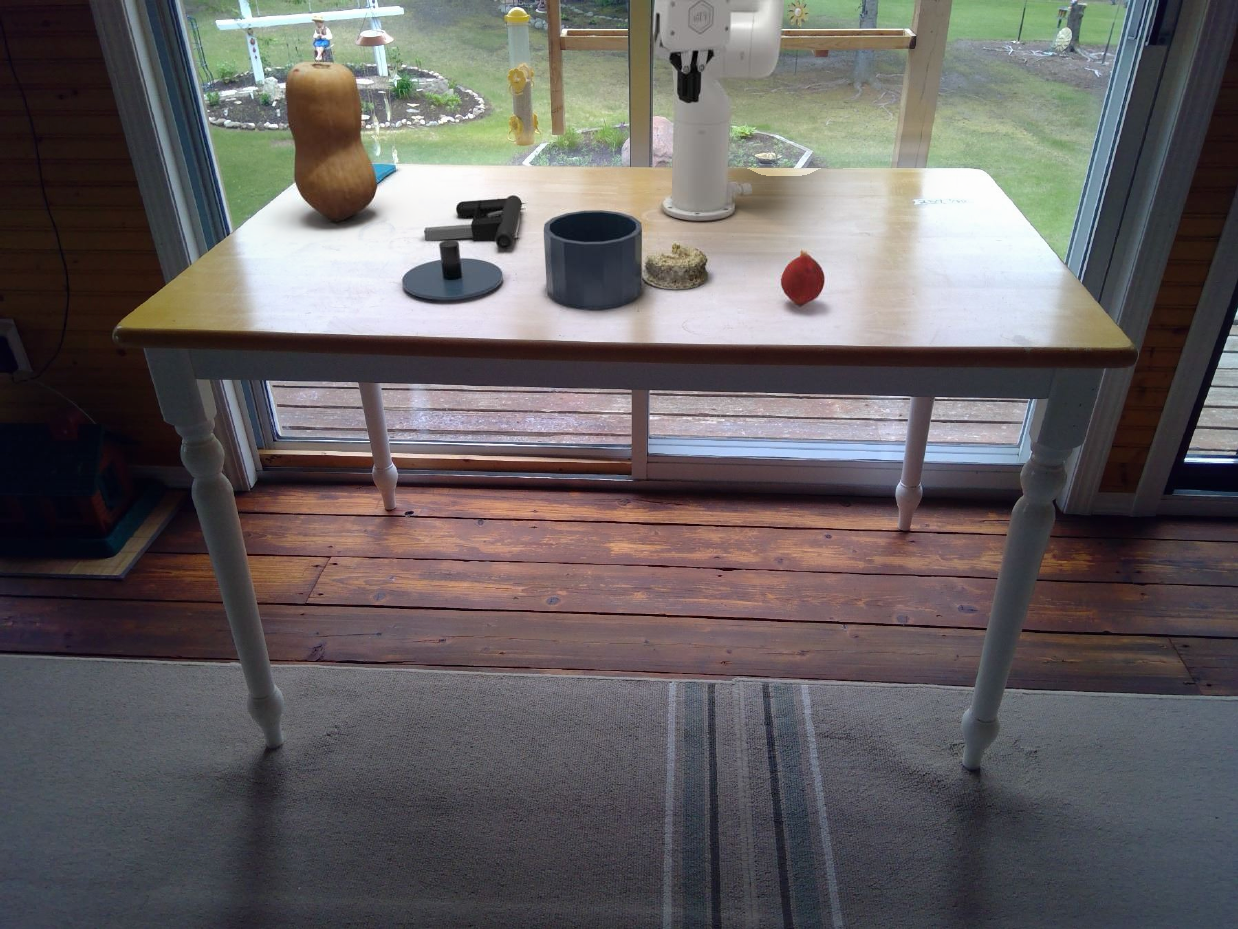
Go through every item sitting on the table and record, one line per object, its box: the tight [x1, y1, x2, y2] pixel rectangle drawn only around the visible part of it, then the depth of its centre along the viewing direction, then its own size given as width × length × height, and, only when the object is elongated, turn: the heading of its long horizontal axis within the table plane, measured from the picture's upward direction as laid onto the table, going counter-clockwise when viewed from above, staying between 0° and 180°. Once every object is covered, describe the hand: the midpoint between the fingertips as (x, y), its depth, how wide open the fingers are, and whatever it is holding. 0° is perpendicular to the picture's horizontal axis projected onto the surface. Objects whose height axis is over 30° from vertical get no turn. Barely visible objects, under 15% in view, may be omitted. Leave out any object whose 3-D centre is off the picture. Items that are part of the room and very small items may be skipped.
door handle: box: [423, 194, 527, 250], centre depth 156 cm, size 3×20×16 cm
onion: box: [780, 249, 826, 307], centre depth 128 cm, size 6×6×8 cm
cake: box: [642, 242, 709, 291], centre depth 138 cm, size 10×10×5 cm
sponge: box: [372, 163, 397, 184], centre depth 182 cm, size 2×12×6 cm
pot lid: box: [401, 239, 504, 301], centre depth 137 cm, size 15×15×6 cm
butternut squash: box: [284, 61, 378, 223], centre depth 156 cm, size 14×13×25 cm
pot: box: [543, 209, 643, 311], centre depth 133 cm, size 14×14×10 cm
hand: (688, 100), depth 134 cm, fingers closed
